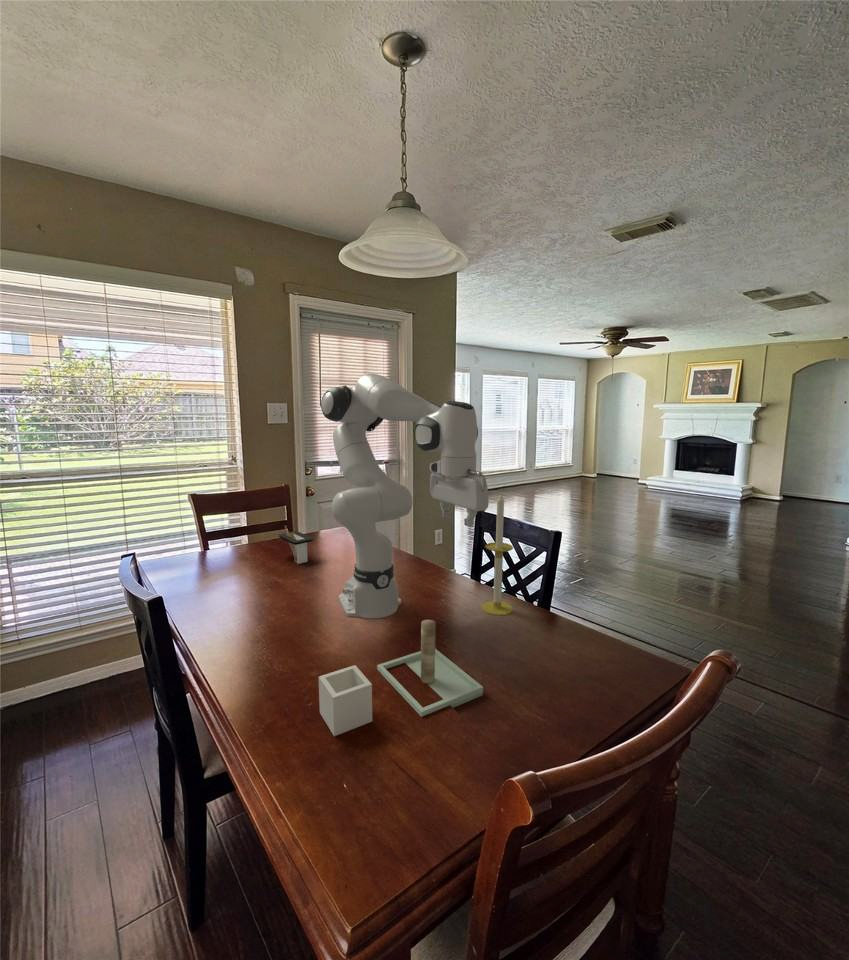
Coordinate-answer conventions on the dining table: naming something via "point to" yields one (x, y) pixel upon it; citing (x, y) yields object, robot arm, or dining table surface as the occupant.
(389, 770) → the dining table surface
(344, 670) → the cup
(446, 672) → the tray
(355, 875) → the dining table surface
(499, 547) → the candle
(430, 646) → the dowel
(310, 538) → the architectural model
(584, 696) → the dining table surface
